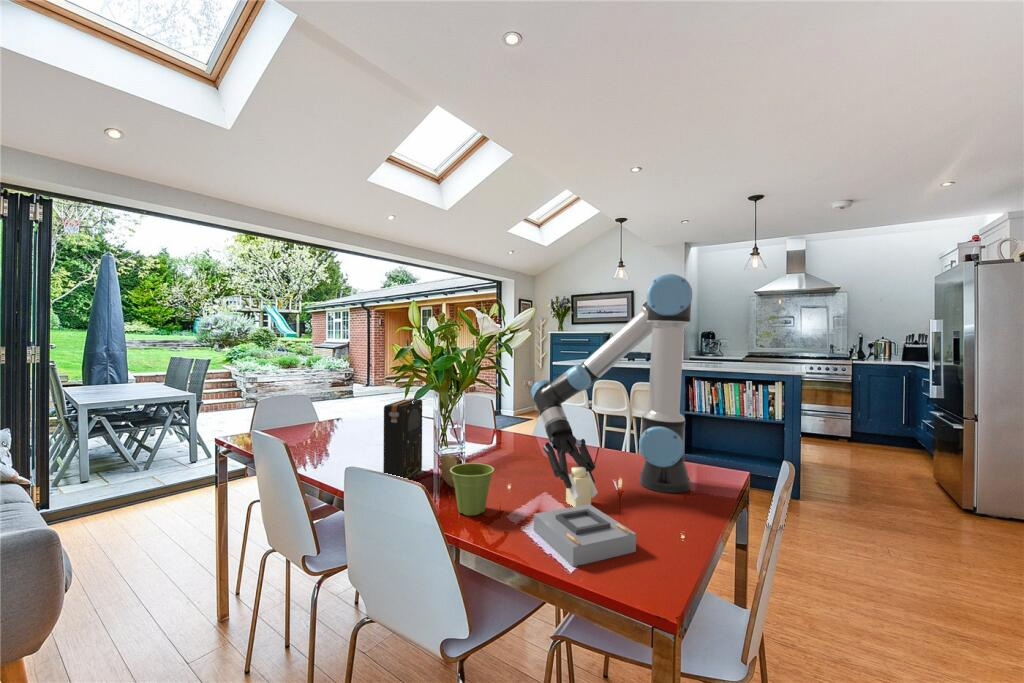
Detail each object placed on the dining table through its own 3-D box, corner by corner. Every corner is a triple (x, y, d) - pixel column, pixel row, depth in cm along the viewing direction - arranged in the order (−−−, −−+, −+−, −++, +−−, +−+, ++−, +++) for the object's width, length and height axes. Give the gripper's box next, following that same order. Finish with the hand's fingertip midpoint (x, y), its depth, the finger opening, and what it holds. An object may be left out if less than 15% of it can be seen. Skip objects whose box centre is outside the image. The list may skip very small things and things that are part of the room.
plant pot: (501, 514, 114) (502, 471, 114) (459, 523, 108) (460, 478, 108) (482, 499, 124) (482, 460, 124) (443, 507, 118) (443, 466, 118)
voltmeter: (405, 484, 136) (405, 405, 136) (380, 482, 138) (380, 404, 137) (425, 469, 151) (425, 398, 151) (402, 468, 153) (402, 397, 153)
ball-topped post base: (589, 519, 111) (589, 500, 111) (635, 551, 95) (636, 529, 95) (533, 530, 105) (533, 509, 105) (573, 566, 88) (573, 542, 88)
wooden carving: (477, 491, 131) (477, 458, 130) (464, 495, 127) (465, 461, 127) (445, 478, 143) (445, 448, 142) (433, 481, 139) (434, 450, 139)
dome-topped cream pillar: (581, 499, 125) (581, 465, 125) (590, 505, 120) (591, 470, 120) (566, 502, 123) (566, 467, 123) (575, 508, 118) (575, 472, 118)
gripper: (576, 429, 139) (607, 498, 124) (526, 434, 132) (552, 508, 117) (586, 416, 134) (619, 486, 119) (534, 420, 127) (562, 495, 112)
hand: (585, 496), depth 118 cm, fingers closed on dome-topped cream pillar, 5 cm apart
